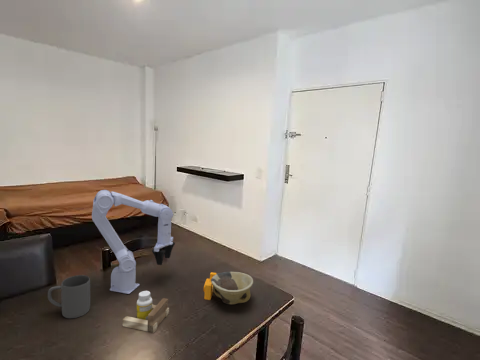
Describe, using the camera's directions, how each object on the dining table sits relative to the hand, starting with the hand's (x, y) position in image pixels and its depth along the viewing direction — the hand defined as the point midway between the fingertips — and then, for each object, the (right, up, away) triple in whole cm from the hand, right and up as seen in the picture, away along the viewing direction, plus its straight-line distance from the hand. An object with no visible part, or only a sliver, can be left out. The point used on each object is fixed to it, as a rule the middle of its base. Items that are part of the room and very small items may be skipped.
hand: (163, 261), depth 125 cm
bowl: (+31, -14, -9) cm, 35 cm away
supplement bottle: (0, -14, -25) cm, 29 cm away
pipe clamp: (+21, -13, -4) cm, 25 cm away
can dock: (+1, -14, -25) cm, 29 cm away
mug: (-28, -12, -24) cm, 39 cm away
